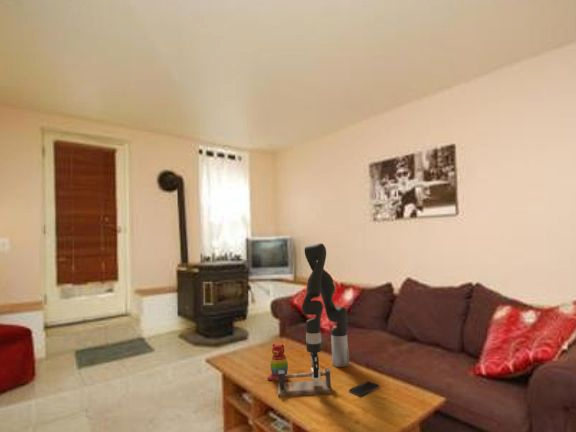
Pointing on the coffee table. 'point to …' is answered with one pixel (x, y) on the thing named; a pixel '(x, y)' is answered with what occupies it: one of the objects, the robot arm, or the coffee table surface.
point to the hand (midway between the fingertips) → (315, 374)
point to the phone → (364, 388)
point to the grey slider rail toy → (303, 385)
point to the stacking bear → (278, 362)
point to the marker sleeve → (315, 378)
